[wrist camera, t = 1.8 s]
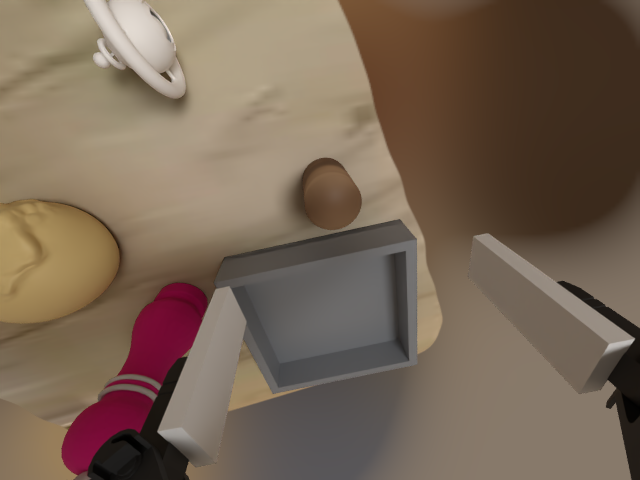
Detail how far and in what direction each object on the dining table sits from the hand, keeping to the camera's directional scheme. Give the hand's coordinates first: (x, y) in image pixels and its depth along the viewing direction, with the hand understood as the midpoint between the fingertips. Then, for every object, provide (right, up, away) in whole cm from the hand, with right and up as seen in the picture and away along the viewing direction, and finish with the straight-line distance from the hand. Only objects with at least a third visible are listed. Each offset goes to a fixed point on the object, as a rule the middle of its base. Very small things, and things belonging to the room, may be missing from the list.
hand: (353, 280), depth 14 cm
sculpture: (-30, +3, +15) cm, 33 cm away
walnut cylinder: (-1, +9, +14) cm, 17 cm away
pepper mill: (-20, -6, +21) cm, 30 cm away
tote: (-1, -7, +23) cm, 25 cm away
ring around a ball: (-16, +18, +8) cm, 25 cm away
